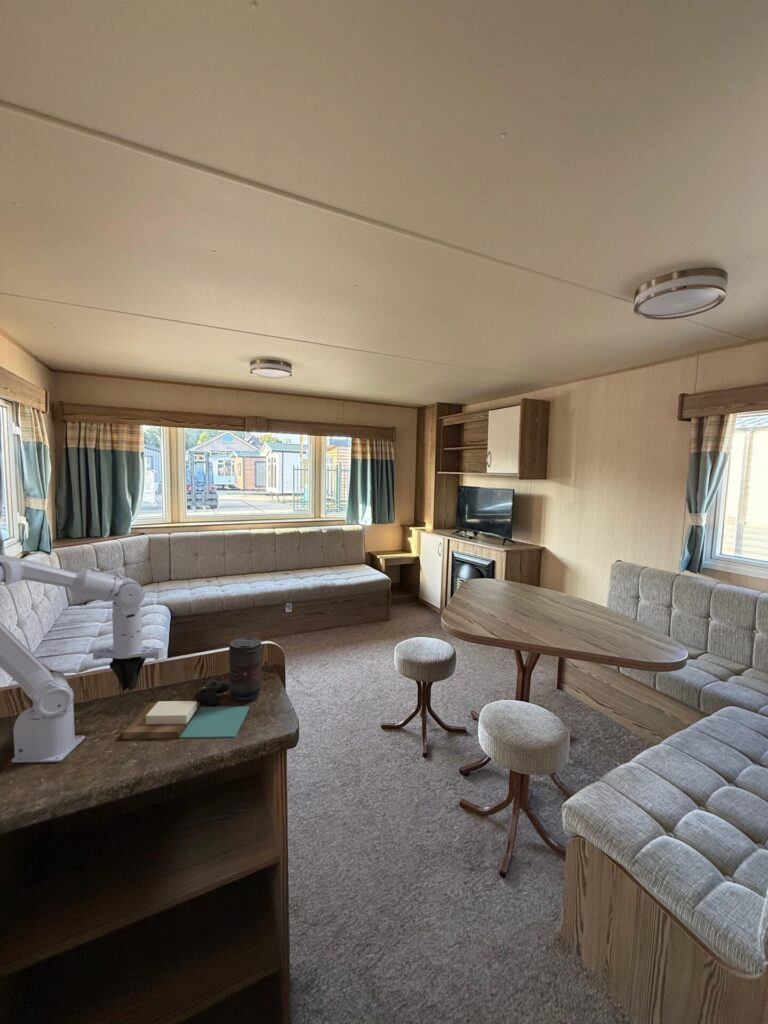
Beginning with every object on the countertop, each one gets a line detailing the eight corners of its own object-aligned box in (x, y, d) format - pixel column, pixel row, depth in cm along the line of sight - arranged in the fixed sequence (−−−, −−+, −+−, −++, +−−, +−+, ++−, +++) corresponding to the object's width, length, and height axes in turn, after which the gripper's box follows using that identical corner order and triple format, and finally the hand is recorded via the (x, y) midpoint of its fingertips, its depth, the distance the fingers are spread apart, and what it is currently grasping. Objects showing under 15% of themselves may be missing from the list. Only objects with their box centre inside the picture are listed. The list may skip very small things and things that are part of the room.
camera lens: (261, 703, 107) (261, 646, 106) (227, 707, 105) (227, 649, 104) (262, 688, 115) (262, 634, 114) (231, 691, 113) (230, 637, 111)
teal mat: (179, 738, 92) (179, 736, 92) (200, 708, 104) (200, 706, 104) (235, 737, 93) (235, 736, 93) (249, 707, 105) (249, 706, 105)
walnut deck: (122, 738, 92) (122, 732, 92) (150, 708, 104) (149, 702, 104) (178, 738, 92) (178, 731, 92) (199, 708, 104) (199, 702, 104)
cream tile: (145, 724, 95) (145, 715, 95) (158, 709, 101) (158, 701, 101) (186, 723, 95) (186, 715, 95) (196, 709, 101) (196, 701, 101)
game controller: (219, 704, 105) (202, 687, 105) (204, 718, 105) (187, 702, 105) (234, 685, 115) (218, 670, 114) (220, 698, 115) (204, 683, 115)
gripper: (168, 624, 100) (169, 679, 101) (105, 624, 99) (107, 679, 101) (153, 636, 93) (155, 694, 94) (85, 636, 92) (88, 695, 93)
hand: (129, 688), depth 97 cm, fingers closed
